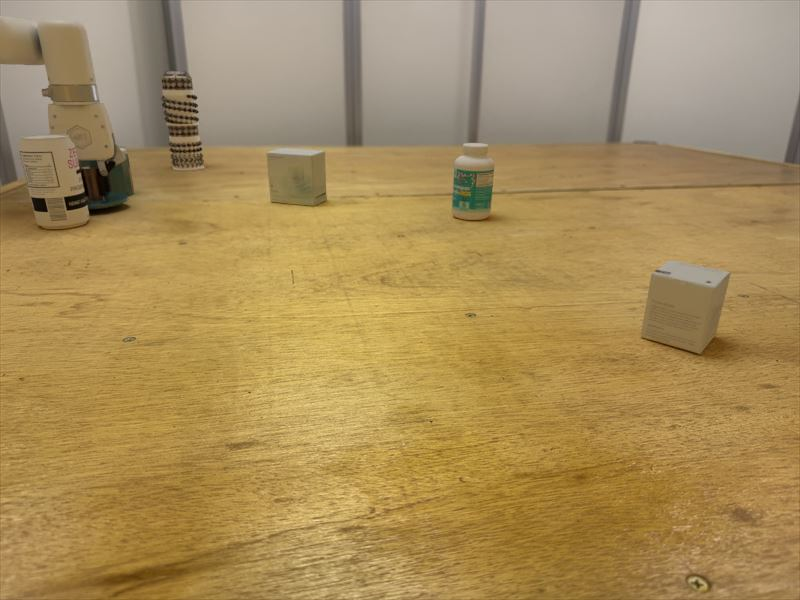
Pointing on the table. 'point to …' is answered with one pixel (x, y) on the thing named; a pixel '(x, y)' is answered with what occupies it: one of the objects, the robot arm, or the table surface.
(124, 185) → the storage jar
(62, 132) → the robot arm
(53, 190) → the supplement can
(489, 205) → the pill bottle
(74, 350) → the table surface
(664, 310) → the white cardboard box
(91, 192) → the jar lid
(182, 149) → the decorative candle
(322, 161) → the cosmetics box
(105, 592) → the table surface
